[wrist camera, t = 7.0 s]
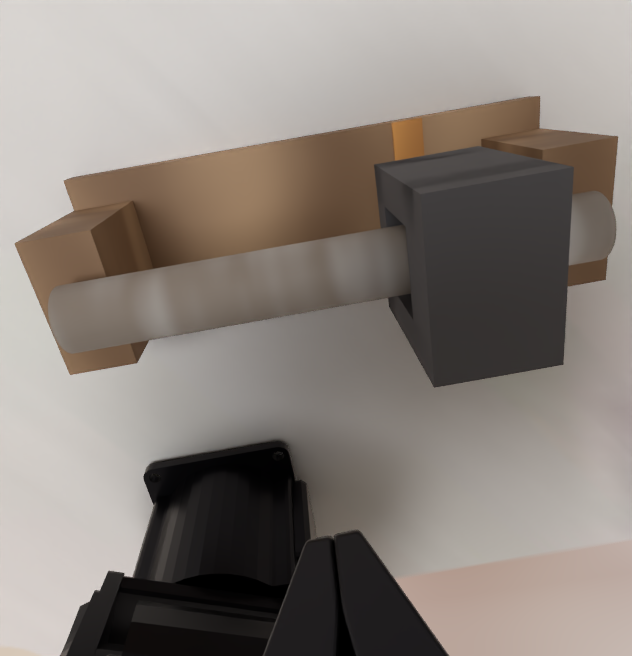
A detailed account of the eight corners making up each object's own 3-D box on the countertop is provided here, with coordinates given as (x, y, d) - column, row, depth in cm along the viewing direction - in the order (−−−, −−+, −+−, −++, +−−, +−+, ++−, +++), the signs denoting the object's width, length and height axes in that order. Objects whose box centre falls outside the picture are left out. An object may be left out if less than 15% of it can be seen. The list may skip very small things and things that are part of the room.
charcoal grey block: (389, 306, 16) (434, 387, 11) (373, 164, 14) (420, 194, 10) (481, 289, 16) (563, 364, 12) (478, 145, 14) (574, 166, 10)
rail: (127, 332, 20) (58, 440, 14) (72, 177, 17) (-44, 220, 11) (526, 261, 20) (643, 336, 14) (528, 96, 17) (673, 93, 11)
